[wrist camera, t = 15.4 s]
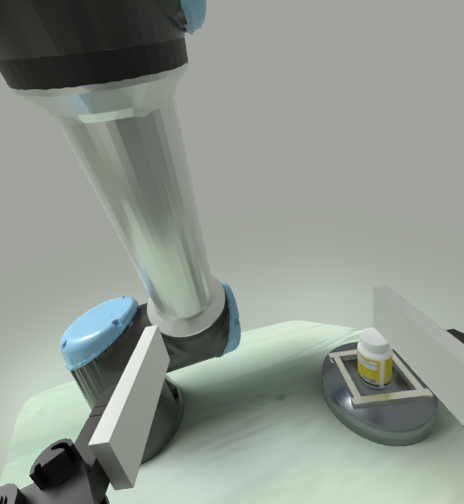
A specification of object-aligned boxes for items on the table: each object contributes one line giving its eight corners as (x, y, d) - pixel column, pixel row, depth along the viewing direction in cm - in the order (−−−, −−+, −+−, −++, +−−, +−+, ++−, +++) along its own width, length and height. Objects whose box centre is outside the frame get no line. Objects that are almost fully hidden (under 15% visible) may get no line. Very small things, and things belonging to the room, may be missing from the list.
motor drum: (346, 452, 34) (345, 427, 33) (312, 364, 49) (310, 343, 48) (465, 439, 33) (470, 412, 31) (392, 353, 48) (394, 331, 46)
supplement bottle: (382, 364, 42) (384, 324, 39) (397, 389, 37) (400, 345, 34) (353, 366, 42) (352, 327, 40) (364, 390, 38) (364, 348, 35)
